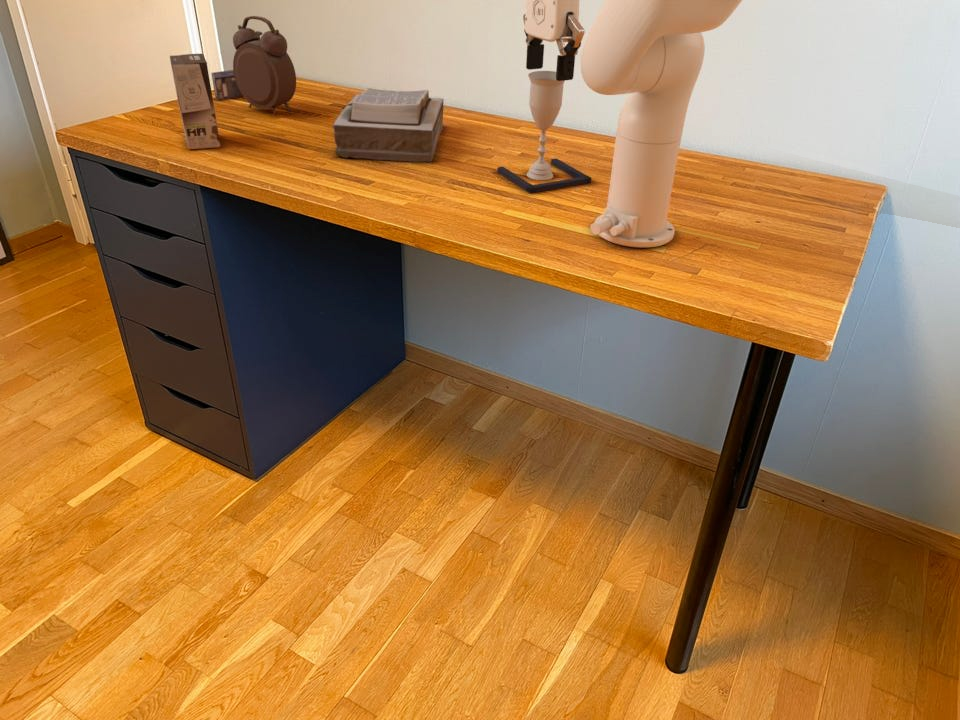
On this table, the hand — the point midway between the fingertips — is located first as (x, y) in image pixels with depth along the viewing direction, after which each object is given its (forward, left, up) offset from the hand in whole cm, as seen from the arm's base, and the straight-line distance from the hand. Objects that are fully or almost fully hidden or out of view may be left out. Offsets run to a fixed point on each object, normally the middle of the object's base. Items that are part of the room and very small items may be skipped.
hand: (548, 74), depth 128 cm
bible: (-7, +34, -19) cm, 40 cm away
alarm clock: (-13, +70, -19) cm, 74 cm away
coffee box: (-36, +59, -19) cm, 72 cm away
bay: (0, -1, -18) cm, 18 cm away
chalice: (0, 0, -19) cm, 19 cm away
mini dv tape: (-13, +86, -19) cm, 89 cm away
